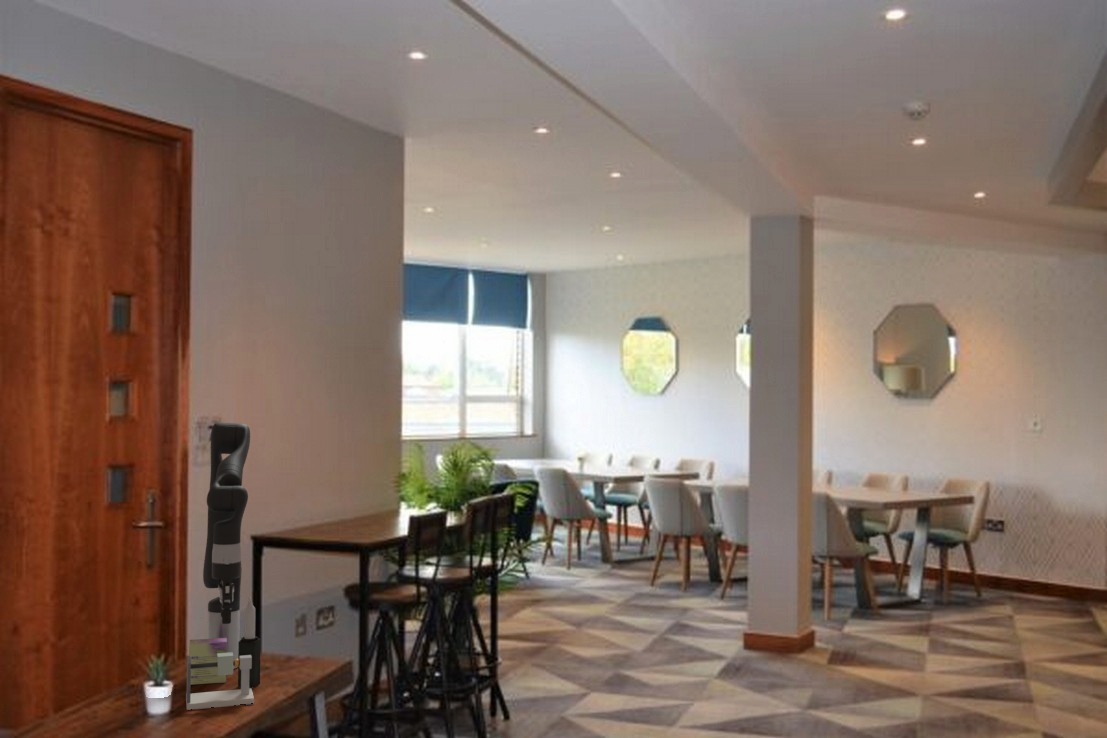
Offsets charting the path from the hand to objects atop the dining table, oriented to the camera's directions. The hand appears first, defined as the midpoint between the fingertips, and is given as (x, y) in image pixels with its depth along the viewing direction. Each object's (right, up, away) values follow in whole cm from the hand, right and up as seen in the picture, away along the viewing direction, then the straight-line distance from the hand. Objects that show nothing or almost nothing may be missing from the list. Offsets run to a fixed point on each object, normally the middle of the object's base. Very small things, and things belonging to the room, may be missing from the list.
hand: (225, 620), depth 283 cm
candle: (+2, -22, +15) cm, 27 cm away
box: (-11, -22, +19) cm, 31 cm away
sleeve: (0, -14, 0) cm, 14 cm away
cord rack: (-1, -22, -1) cm, 22 cm away
